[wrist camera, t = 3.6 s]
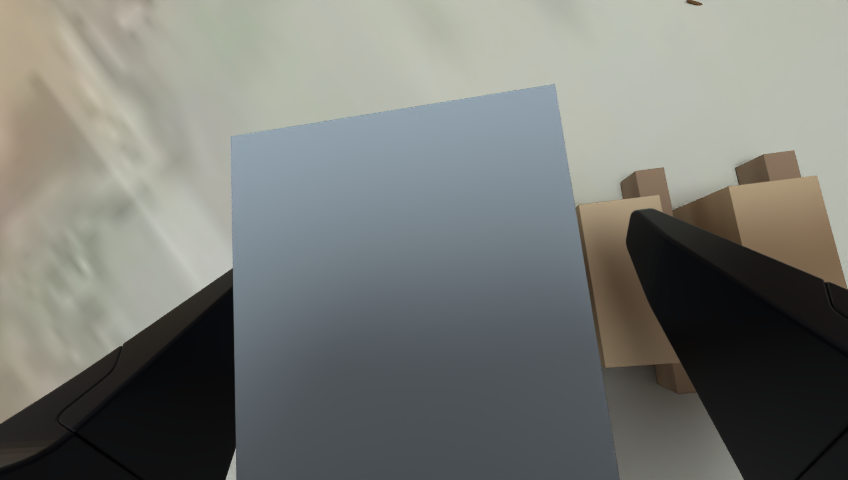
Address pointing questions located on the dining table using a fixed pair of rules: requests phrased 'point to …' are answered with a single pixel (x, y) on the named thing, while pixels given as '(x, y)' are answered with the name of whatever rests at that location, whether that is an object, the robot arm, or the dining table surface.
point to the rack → (655, 184)
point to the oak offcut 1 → (619, 287)
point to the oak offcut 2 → (773, 223)
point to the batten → (415, 299)
